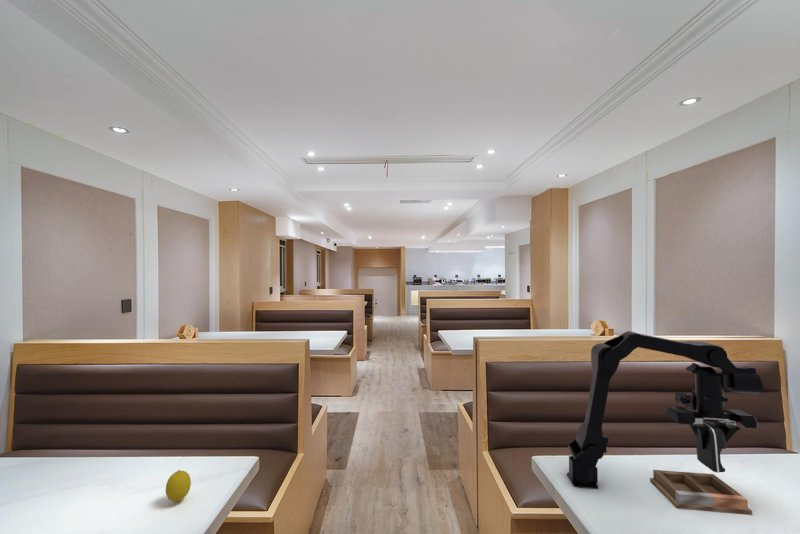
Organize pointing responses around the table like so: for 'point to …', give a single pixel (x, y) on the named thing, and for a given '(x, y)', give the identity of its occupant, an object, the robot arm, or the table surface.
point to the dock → (699, 492)
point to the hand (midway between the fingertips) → (710, 449)
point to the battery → (712, 448)
